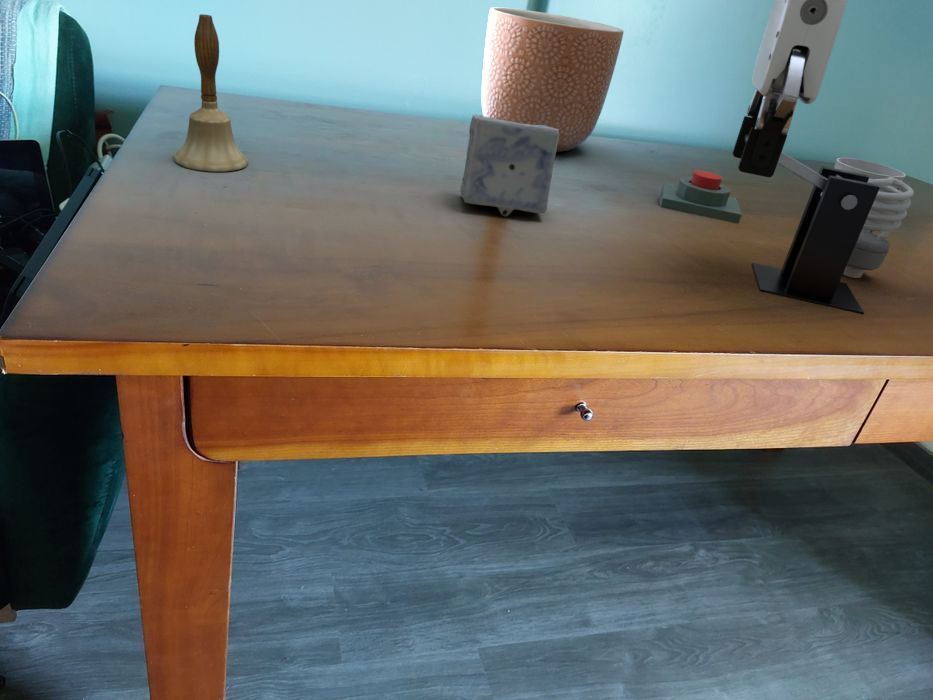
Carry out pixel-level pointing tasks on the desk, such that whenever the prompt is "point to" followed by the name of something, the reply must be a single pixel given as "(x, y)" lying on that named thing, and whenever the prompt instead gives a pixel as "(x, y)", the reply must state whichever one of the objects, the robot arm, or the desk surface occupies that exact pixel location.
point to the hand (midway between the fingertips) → (751, 164)
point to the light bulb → (879, 226)
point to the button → (706, 180)
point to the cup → (869, 173)
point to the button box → (700, 200)
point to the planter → (548, 71)
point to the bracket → (823, 243)
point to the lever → (800, 169)
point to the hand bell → (209, 114)
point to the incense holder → (509, 165)
